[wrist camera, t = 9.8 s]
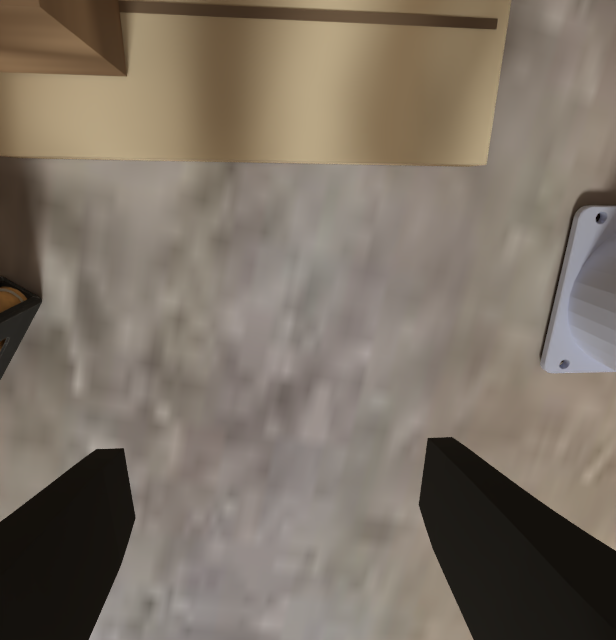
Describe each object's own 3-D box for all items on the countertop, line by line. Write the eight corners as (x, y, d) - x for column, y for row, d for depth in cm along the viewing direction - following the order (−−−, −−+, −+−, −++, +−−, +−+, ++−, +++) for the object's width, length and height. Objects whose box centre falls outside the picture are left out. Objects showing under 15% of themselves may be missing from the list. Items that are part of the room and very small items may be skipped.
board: (507, -114, 13) (535, -151, 12) (468, 166, 16) (487, 164, 15) (-49, -156, 12) (-94, -203, 11) (17, 158, 15) (-10, 154, 14)
